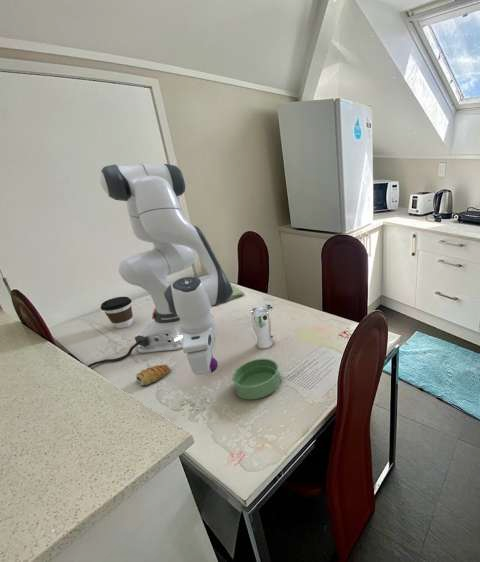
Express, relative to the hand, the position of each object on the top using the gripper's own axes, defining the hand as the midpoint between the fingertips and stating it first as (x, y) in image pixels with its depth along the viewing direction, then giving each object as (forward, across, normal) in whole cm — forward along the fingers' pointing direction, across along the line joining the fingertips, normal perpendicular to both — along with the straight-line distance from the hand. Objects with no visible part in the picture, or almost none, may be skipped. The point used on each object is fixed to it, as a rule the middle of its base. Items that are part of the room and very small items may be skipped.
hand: (209, 367), depth 99 cm
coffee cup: (+11, -60, -44) cm, 75 cm away
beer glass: (+10, -22, +16) cm, 29 cm away
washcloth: (+11, -75, -3) cm, 76 cm away
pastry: (+10, -14, -22) cm, 28 cm away
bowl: (+10, +2, +13) cm, 17 cm away
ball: (+2, 0, 0) cm, 2 cm away
